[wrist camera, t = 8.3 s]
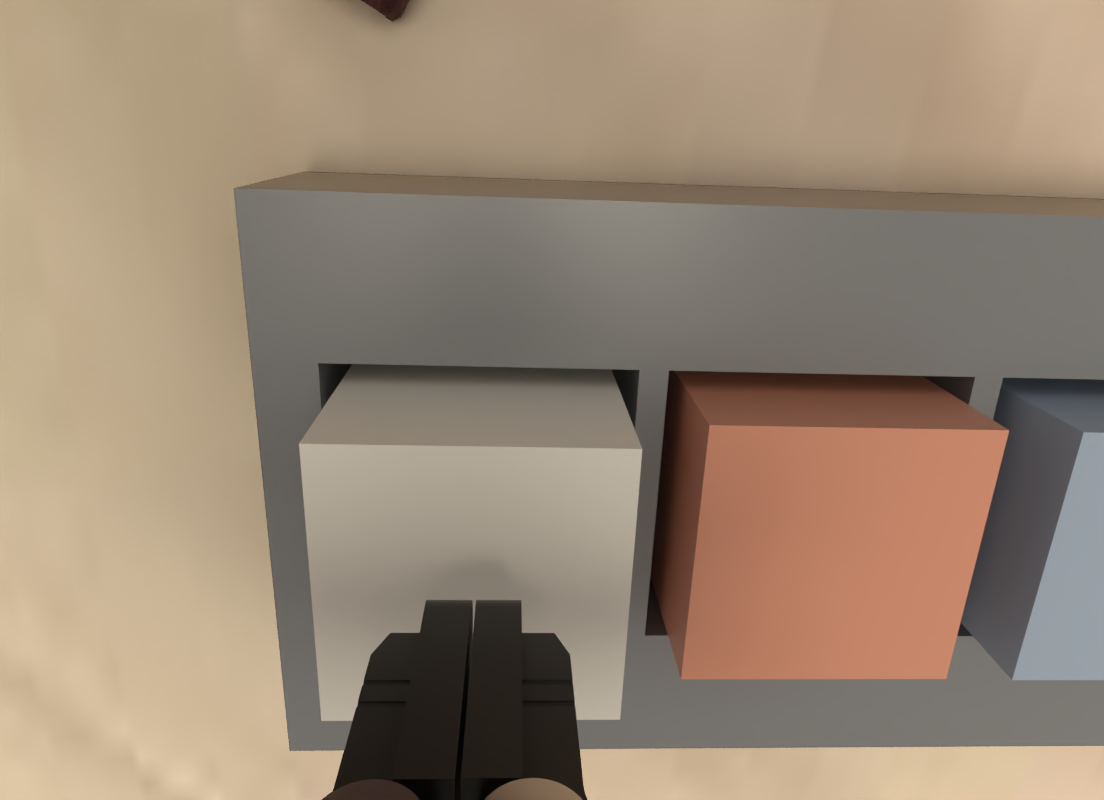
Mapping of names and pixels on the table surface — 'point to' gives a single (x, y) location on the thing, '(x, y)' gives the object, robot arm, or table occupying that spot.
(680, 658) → the key terracotta
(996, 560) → the key blue
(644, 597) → the console
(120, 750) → the table surface
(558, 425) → the key white
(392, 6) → the book
